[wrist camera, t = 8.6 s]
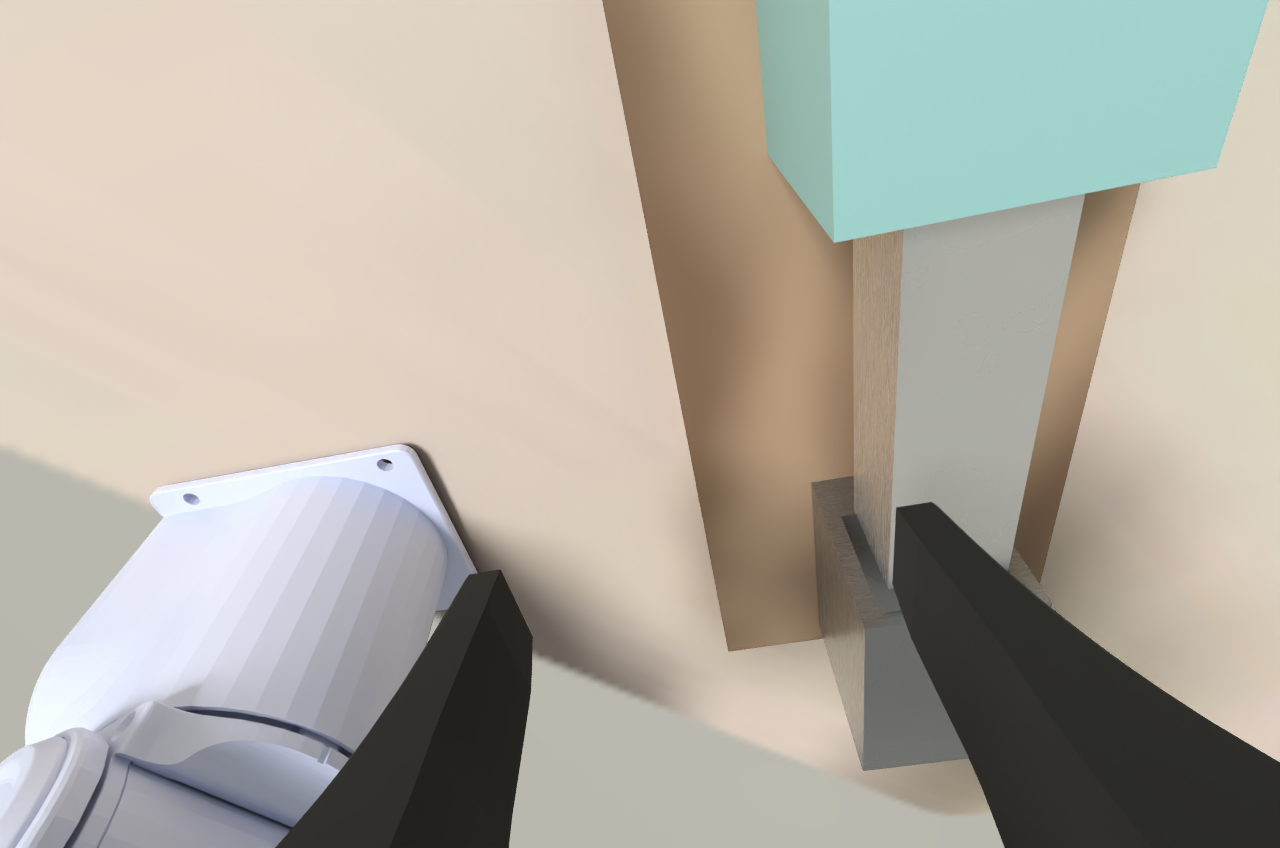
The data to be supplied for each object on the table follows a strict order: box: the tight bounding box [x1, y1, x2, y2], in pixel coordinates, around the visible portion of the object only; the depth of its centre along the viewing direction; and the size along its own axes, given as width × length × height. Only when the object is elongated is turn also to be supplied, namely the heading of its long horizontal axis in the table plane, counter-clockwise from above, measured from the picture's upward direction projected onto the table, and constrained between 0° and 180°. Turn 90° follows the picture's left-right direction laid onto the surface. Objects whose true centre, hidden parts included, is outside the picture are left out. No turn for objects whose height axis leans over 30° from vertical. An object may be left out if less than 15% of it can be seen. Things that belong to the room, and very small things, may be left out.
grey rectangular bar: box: [853, 194, 1085, 589], centre depth 14 cm, size 3×13×3 cm, turn 11°
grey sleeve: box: [811, 476, 1052, 771], centre depth 21 cm, size 5×8×6 cm, turn 11°
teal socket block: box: [755, 0, 1269, 243], centre depth 11 cm, size 6×4×6 cm
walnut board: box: [602, 0, 1140, 651], centre depth 20 cm, size 12×24×2 cm, turn 11°
